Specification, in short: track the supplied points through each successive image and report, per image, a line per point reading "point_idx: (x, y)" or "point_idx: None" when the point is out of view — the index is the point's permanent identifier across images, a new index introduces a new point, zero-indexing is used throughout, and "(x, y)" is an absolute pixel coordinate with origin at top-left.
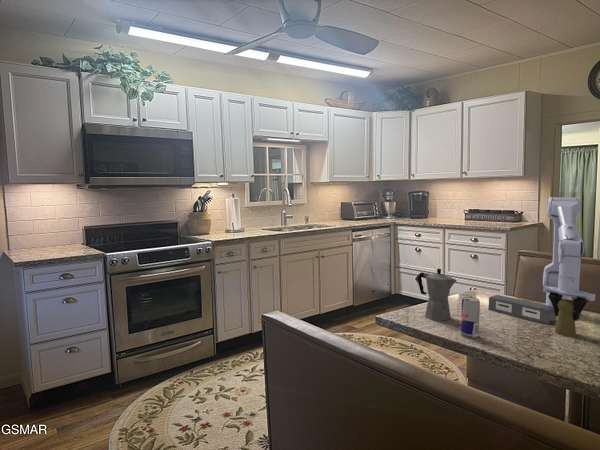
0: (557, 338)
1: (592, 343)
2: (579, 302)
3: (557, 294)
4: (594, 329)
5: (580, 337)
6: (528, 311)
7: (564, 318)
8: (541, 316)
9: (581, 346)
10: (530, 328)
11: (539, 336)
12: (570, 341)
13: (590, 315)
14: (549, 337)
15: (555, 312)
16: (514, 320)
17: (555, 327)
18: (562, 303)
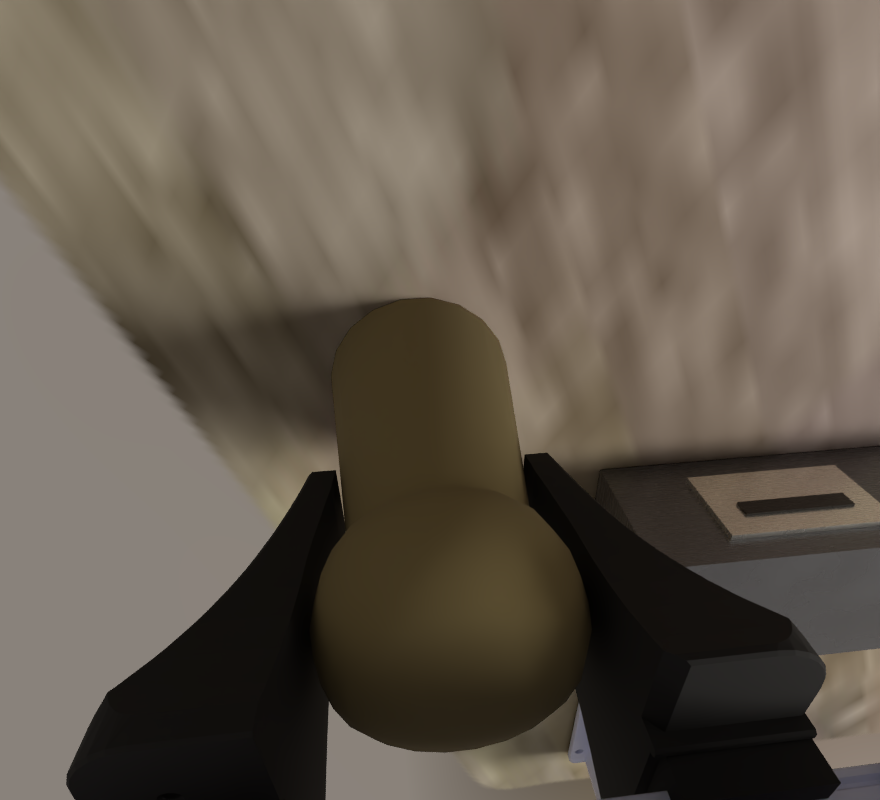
0: (379, 146)
1: (119, 306)
2: (126, 705)
3: (671, 776)
4: None
5: (281, 378)
6: (818, 501)
7: (411, 412)
8: (688, 502)
9: (80, 94)
10: (696, 234)
11: (539, 17)
12: (250, 170)
13: (484, 765)
14: (448, 96)
15: (557, 474)
16: (868, 341)
17: (497, 356)
18: (475, 569)
